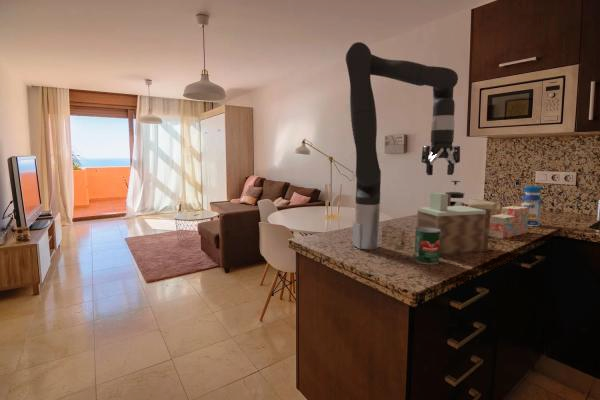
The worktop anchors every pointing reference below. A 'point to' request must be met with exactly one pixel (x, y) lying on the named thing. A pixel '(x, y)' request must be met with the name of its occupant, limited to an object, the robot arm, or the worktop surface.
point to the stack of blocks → (509, 222)
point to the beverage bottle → (532, 204)
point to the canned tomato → (427, 245)
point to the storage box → (456, 232)
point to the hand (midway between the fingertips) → (439, 175)
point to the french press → (455, 195)
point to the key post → (487, 223)
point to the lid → (447, 207)
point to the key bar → (484, 204)
